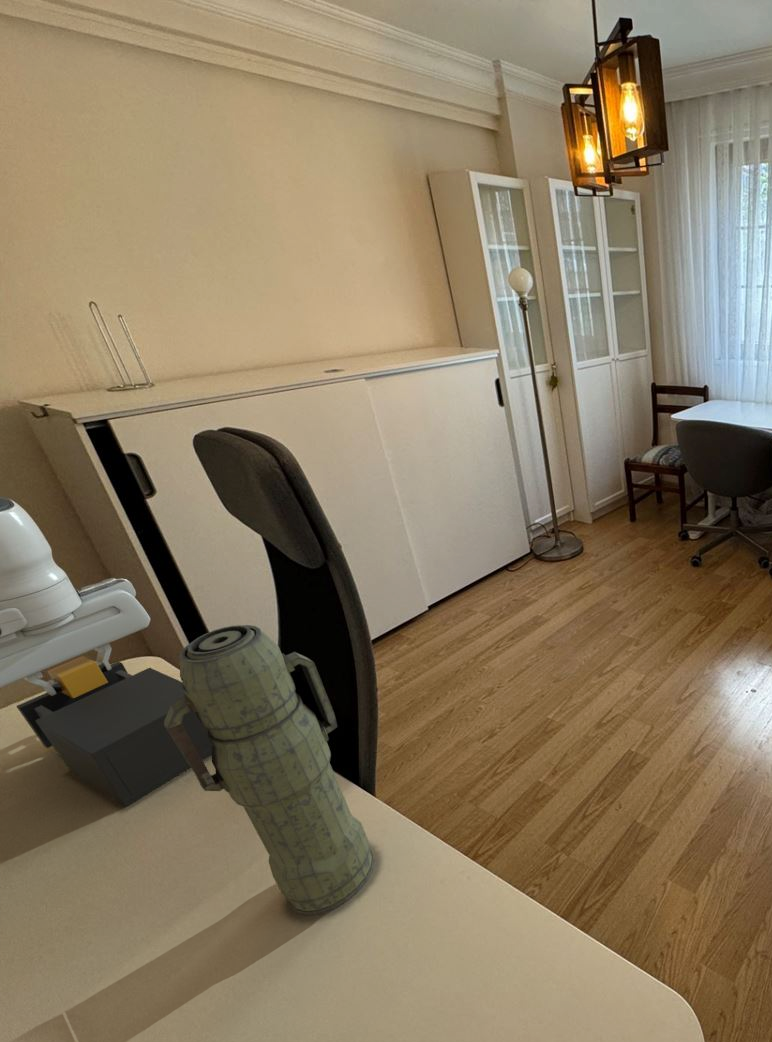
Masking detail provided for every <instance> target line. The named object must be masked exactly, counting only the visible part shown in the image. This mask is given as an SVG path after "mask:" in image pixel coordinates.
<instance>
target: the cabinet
mask: <svg viewBox="0 0 772 1042" xmlns="http://www.w3.org/2000/svg"><path fill="white" fill-rule="evenodd" d="M131 675H132V674H131ZM182 688H183V682H182V680H181V681H180V680H179V679H177V678H174V677H172V676H169V675H167V674H165V673H163V672H161V671H158V670H156V669H154V668H152V667H148V668H146V669H143V670H141V671H139V672H136V673H135V674H133V675H132V676H130V677H128V678H126V679H124V680H122V681H119V682H117V683H115V684H113V685H111V686H109V687H106V688H104V689H102V690H100V691H98V692H96V693H94V694H91V695H89V696H87V697H85V698H83V699H81V700H78V701H76V702H74V703H72V704H70V705H68V706H65V707H63V708H61V709H59V710H57V711H55V712H52V713H50V714H48V715H46V716H44V717H42V718H39V719H37V720H35V721H36V723H37V724H38V725H39V727H40V728H41V730H42V731H43V733H44V734H45V736H46V737H47V738H48V740H49V741H50V743H51V744H52V746H51V747H53V749H54V750H55V751H56V753H57V754H58V757H60V759H61V760H62V761H63V764H64V765H65V766H66V767H67V769H68V770H69V772H71V773H72V774H74V775H75V776H76V777H78V778H80V779H81V780H83V781H85V782H86V783H87V784H89V785H90V786H93V787H94V788H96V789H97V790H98V791H100V792H102V793H103V794H105V795H107V796H108V797H110V798H111V799H113V800H114V801H116V802H117V803H119V804H120V805H122V806H123V807H125V808H127V807H128V806H130V805H132V804H133V803H135V802H137V801H138V800H140V799H141V798H143V797H145V796H147V795H148V794H150V793H151V792H153V791H154V790H156V789H158V788H159V787H162V786H163V785H164V784H167V782H170V781H171V780H173V779H174V778H176V777H177V776H179V775H181V774H183V773H184V772H186V771H187V770H189V769H192V768H191V767H190V765H189V764H188V762H187V760H186V759H185V757H184V756H183V754H182V753H181V751H180V749H179V748H178V746H177V745H176V743H175V742H174V740H173V738H172V737H171V735H170V734H169V732H168V731H167V729H166V728H165V726H164V720H165V718H166V716H167V713H168V711H169V709H170V706H171V704H172V703H174V702H175V701H177V700H179V699H181V698H182V697H184V696H185V692H184V690H183V689H182ZM182 725H183V726H184V728H185V730H186V732H187V734H188V735H189V737H190V739H191V741H192V743H193V744H194V746H195V748H196V750H197V752H198V753H199V755H200V757H201V759H202V761H204V760H205V759H207V758H208V757H210V756H212V743H211V741H210V739H209V738H208V729H207V728H205V727H204V726H203V725H202V724H201V722H200V720H199V719H198V717H197V715H196V713H194V712H193V711H190V712H188V713H186V714H184V717H183V721H182Z"/></svg>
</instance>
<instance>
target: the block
mask: <svg viewBox="0 0 772 1042" xmlns="http://www.w3.org/2000/svg"><path fill="white" fill-rule="evenodd" d="M95 661H96V660H92V659H91V658H88V657H86V656H85V655H84V656H83V655H81V656H80V657H79V656H78V657H77V658H75V659H71V660H70V661H66V662H65V663H63V664H60V665H58V666H55V667H52V668H51V669H49V670H47V673H48V675H49V676H50V678H51V680H52V679H56V680H58V681H60V683H61V684H62V687H64V689H65V690H64V691H62V693H64V694H66V695H68V696H70V697H72V698H76V697H78V696H80V695H82V694H84V693H86V692H89V691H91V690H93V689H95V688H97V687H99V686H102V685H104V684H106V683H108V681H107V680H106V678H105V676H104V675H103V673H102V671H101V670H100V668H99V666H98V665H97V663H96V662H95Z"/></svg>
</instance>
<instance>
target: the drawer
mask: <svg viewBox="0 0 772 1042" xmlns="http://www.w3.org/2000/svg"><path fill="white" fill-rule="evenodd" d="M110 666H111V668H112V670H109V671H107V672H105V673H103V675H104V676H105V678H106V680H107V681H108V683H106V684H104V685H102V686H99V687H97V688H95V689H93V690H91V691H89V692H86V693H84V694H82V695H80V696H78V697H76V698H72V697H70V696H68V695H66V694H64V693H62V692H60V693H58V694H55V695H53V696H51V695H49V694H48V693H47V692H45V693H42V694H40V695H37V696H36V697H33V698H31V699H29V700H26V701H25V702H22V703H20V704H17V705H16V708H17V710H18V711H19V712H20V714H21V715H22V717H23V718H24V720H25V722H27V724H28V726H29V727H30V729H31V730H32V731H33V732H34V734H35V735H36V737H37V738H38V740H39V741H40V742H41V744H42V745H43V747H45V748H47V749H49V748H51V747H53V746H52V744H51V743H50V741H49V740H48V738H47V737H46V736H45V734H44V733H43V731H42V730H41V728H40V727H39V725H38V724H37V723H36V721H35V720H37V719H39V718H42V717H44V716H46V715H48V714H50V713H52V712H55V711H57V710H59V709H61V708H63V707H65V706H68V705H70V704H72V703H74V702H76V701H78V700H81V699H83V698H85V697H87V696H89V695H91V694H94V693H96V692H98V691H100V690H102V689H104V688H106V687H109V686H111V685H113V684H115V683H117V682H119V681H122V680H124V679H126V678H128V677H130V676H132V674H130V673H128V671H127V669H126V667H125V666H124V664H123V662H121V661H115V662H113V663H112V664H110Z"/></svg>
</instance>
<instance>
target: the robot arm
mask: <svg viewBox="0 0 772 1042" xmlns="http://www.w3.org/2000/svg"><path fill="white" fill-rule="evenodd" d="M136 595H137V592H136V589H135V587H134V584H133V583H132V581H130V580H128V579H125V578H115V577H111V578H107V579H103V580H102V581H99V582H96V583H92V584H89V585H86V586H83V587H79V588H77V589H76V588H75V587H74V585H73V583H72V581H71V580H70V578H69V576H68V575H67V573H66V571H64V569H62V568H61V567H59V565H58V564H57V563H56V562H55V560H54V558H53V549H52V547H51V545H50V543H49V542H48V540H47V538H46V537H45V535H44V533H43V532H42V531H41V529H40V527H39V526H38V525H37V523H36V522H35V521H34V519H33V518H32V516H31V515H29V513H28V512H27V511H26V510H25V509H24V508H23V507H22V506H21V505H20V504H19V503H17V502H15V501H14V500H12V499H11V498H9V497H4V496H0V689H1V688H4V687H7V686H8V685H11V684H13V683H16V682H18V681H21V680H24V681H27V682H28V683H31V684H33V685H37V686H39V687H42V688H43V689H44V691H45V693H48V694H49V695H51V696H53V695H55V694H58V693H60V692H62V691H64V690H65V689H64V687H62V684H61V683H60V681H58V680H56V679H52V678H51V679H50V680H44V679H42V678H43V677H44V675H43V674H42V671H45V670H47V669H50V668H53V667H54V666H56V665H59V664H61V663H64V662H68V660H72V659H73V658H76V657H79V656H82V655H84V654H85V653H88V652H91V651H95V652H97V655H96V659H95V660H94V661H95V662H96V663H97V665H98V666H99V668H100V670H101V671H102V673H105V672H107V671H109V670H112V668H111V666H110V665H111V664H110V663H109V660H110V657H111V653H112V649H113V648H112V646H111V644H110V643H113V642H114V641H117V640H120V639H123V638H124V637H127V636H130V635H132V634H134V633H137V632H139V631H141V630H144V629H146V628H148V627H149V625H150V622H151V617H150V615H149V614H148V612H147V610H146V609H145V608H144V606H143V605H142V604H141V602H139V600H137V598H136Z"/></svg>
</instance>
